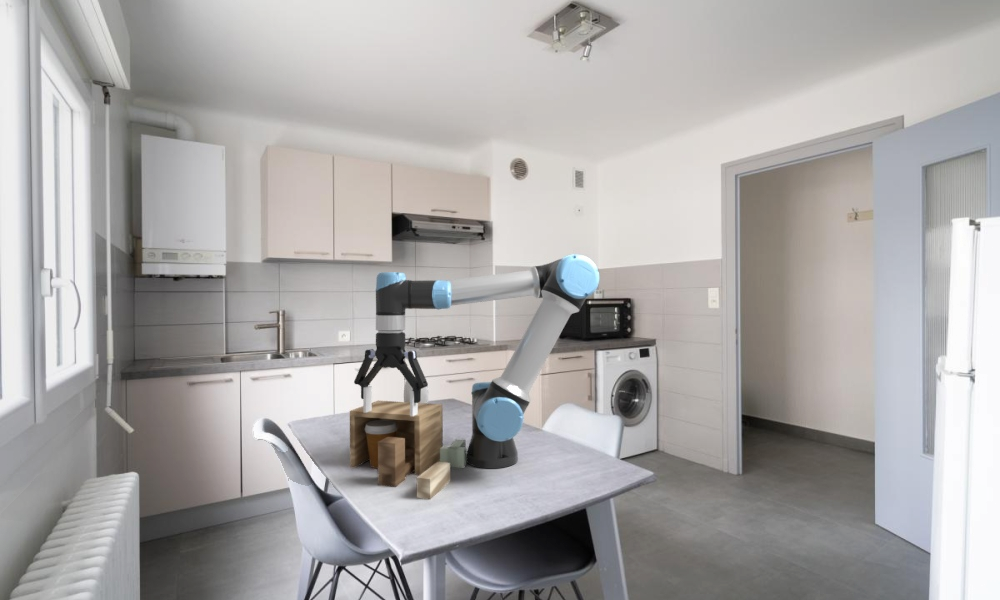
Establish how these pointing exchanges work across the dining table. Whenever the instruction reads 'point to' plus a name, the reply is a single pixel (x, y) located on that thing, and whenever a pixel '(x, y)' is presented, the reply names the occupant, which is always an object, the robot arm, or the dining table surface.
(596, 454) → the dining table surface
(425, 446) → the wooden storage bin
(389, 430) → the disposable coffee cup
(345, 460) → the dining table surface
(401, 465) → the crook
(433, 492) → the beech stick
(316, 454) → the dining table surface
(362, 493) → the dining table surface
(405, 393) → the wineglass
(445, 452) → the tee stick
